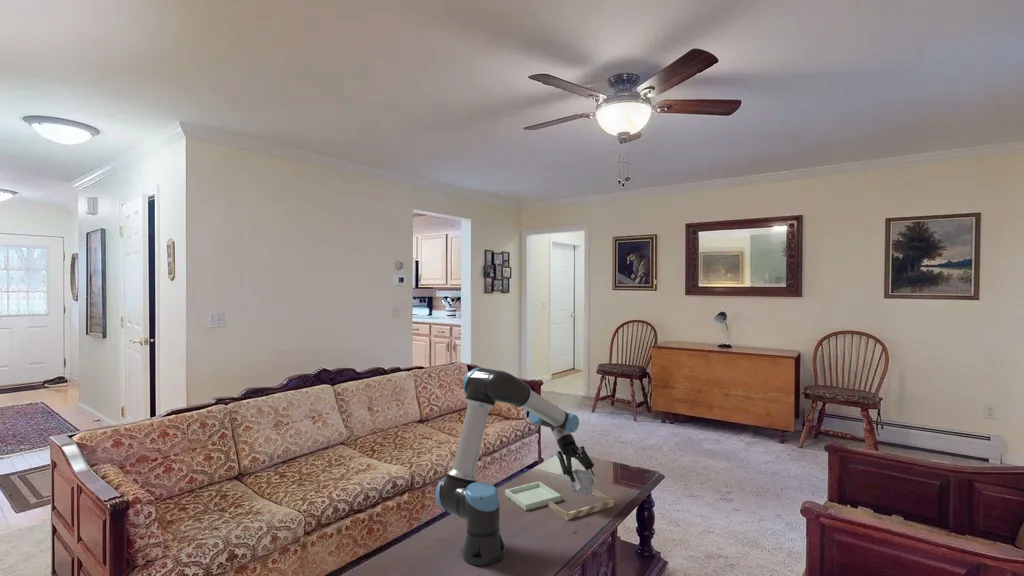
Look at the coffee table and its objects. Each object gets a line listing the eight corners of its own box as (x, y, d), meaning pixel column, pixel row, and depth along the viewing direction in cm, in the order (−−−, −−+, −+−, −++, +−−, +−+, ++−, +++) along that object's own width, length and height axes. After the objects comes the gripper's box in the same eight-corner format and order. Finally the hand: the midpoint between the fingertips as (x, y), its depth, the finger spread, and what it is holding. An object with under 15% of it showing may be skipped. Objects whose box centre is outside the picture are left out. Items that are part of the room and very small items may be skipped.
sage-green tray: (525, 510, 207) (525, 505, 207) (505, 495, 223) (505, 489, 223) (561, 500, 216) (560, 495, 216) (539, 486, 231) (539, 481, 231)
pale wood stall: (567, 520, 198) (566, 514, 198) (548, 507, 210) (548, 501, 210) (614, 506, 209) (613, 500, 209) (594, 494, 221) (593, 489, 221)
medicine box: (593, 492, 209) (592, 471, 209) (588, 496, 205) (588, 475, 205) (575, 488, 213) (575, 468, 213) (571, 492, 209) (571, 471, 209)
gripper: (579, 438, 227) (602, 486, 213) (541, 446, 218) (563, 496, 203) (586, 429, 223) (610, 477, 208) (547, 437, 213) (570, 487, 199)
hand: (587, 486), depth 206 cm, fingers closed on medicine box, 7 cm apart
